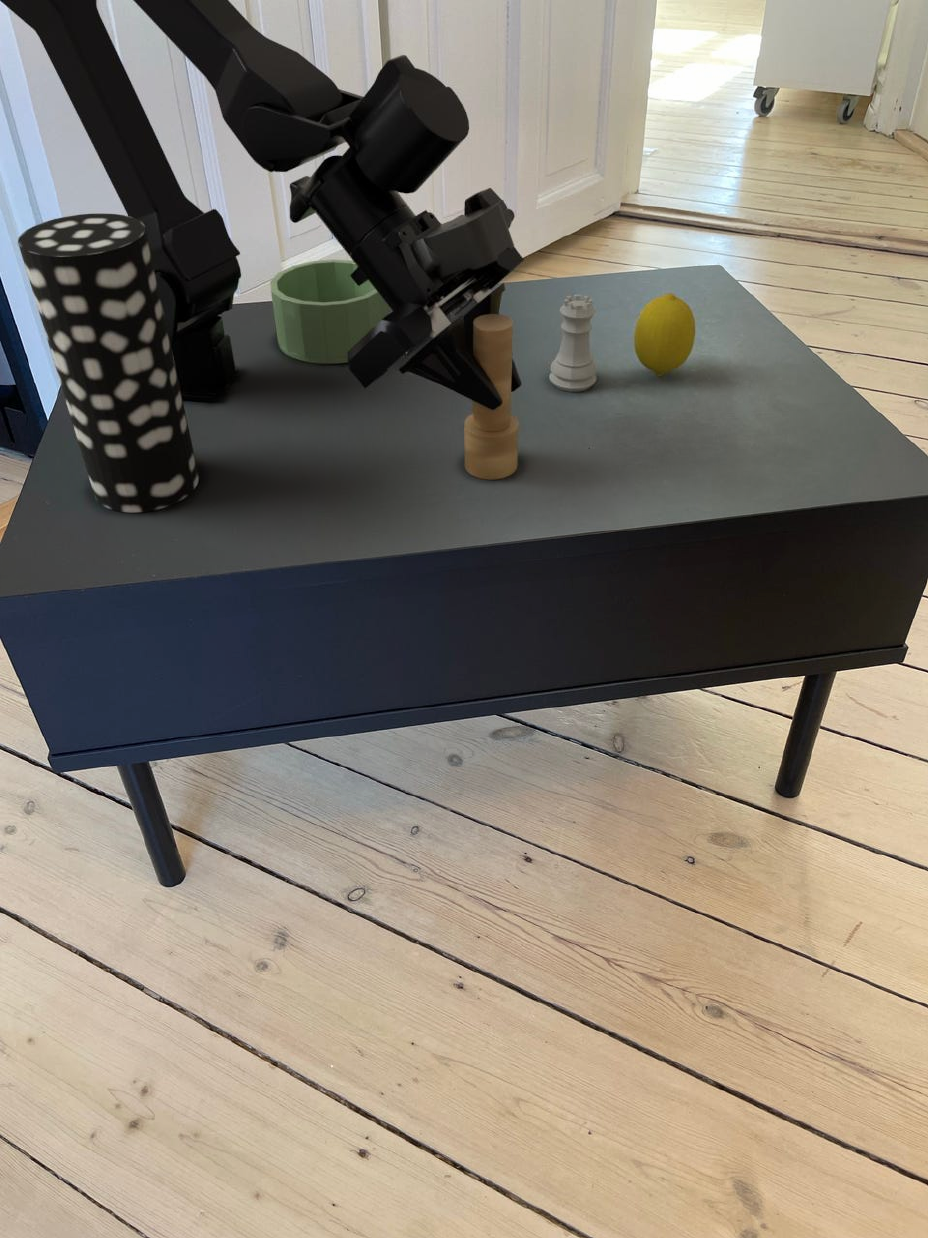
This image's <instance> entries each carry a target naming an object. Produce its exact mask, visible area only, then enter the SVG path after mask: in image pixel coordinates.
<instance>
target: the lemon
mask: <svg viewBox="0 0 928 1238" xmlns="http://www.w3.org/2000/svg"><path fill="white" fill-rule="evenodd" d="M634 328H635V329H634V334H633V335H634V336H633V344H634V345H633V346H634V350H635V354H636V356H637V359H638V360H639V362H640V363H641V364H642V366H644V367H645V368H646V369H648V370H650V371H652V372H653V373H654V374H655V375H656V376H658V377H661V376H664V375H665V374H666V373H668V372H669V373H670V372H672V371H674V370H677V369H678V368H680V367H681V366H682V365H683V364H684V363H685V362H686V361H687V359H688V358H689V357H690V355H691V353H692V350H693V347H694V343H695V338H696V322H695V316H694V313H693V311H692V309H691V307H690V305H689V304H687V302H686V301H684V300H683V299H682V298H681V297H678V296H676V295H675V294H674V293H672V292H666V293H665V294H664V295H661V296H658V297H656V298H653V299H652V300H651V301H649V302H648V303H647V304H646V305H645V306H644V307H643V309H642V310H641V312H640V314H639V316H638V318H637V321H636V324H635V327H634Z"/></svg>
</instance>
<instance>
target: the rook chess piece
mask: <svg viewBox="0 0 928 1238" xmlns="http://www.w3.org/2000/svg"><path fill="white" fill-rule="evenodd" d="M559 313H560V314H561V316H562V317H563V322H562V324H561V325H560V327H561V329H562V337H561V342H560V348H559V350H558V352H557V354H555V359H554V360H553V361H552V362H551V365H550V373H549V376H548V377H549V381H550V382H551V383H552V385H553V386H554V387H555V388H556V389H558V390H560V391H563V392H564V391H565V392H569V393H573V392H574V393H576V392H578V393H579V392H583V391H586V390H588V389H590V388H591V387H592V386H593V385H594V384H595V383H596V381H597V376H596V372H597V367H596V366H597V365H596V362H594V361H593V360H594V359H593V355H591V352H590V349H591V348H590V331H591V330H592V329H593V326H592V324H591V319H592V318H593V316H595V314H596V313H597V311H596V308H595V306H594V305H593V298H590V296H588V295H584V296H583V299H581V294H574V299H573V297H572V295H567V296H565V298H564V300H563V304H562V305H561V307H560V308H559Z"/></svg>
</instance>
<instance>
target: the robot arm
mask: <svg viewBox="0 0 928 1238" xmlns="http://www.w3.org/2000/svg"><path fill="white" fill-rule="evenodd" d="M132 1H133V2H134V3H135V4H136V6H138V8H140V9H141V10H142V11H143V12H144V13H145V15H146V16H147V17H148V18H149V19H150V20H151V21H152V22H153V23H154V24H155V25H156V26H157V27H158V29H160V31H161V32H162V33H163V34H164V35H165V36H166V37H167V38H168V39H169V40H170V41H171V42H172V43H173V45H175V47H176V48H177V49H178V50H179V51H180V53H182V55H184V56H185V57H186V58H187V60H188V61H189V62H190V63H191V64H192V65H193V66H194V67H195V68H196V69H197V71H199V72H200V73H201V75H203V76H204V78H205V79H206V81H207V82H208V83H209V84H210V86H211V87H212V89H213V90H214V92H215V95H216V98H217V99H216V100H217V102H218V105H219V106H218V107H219V110H220V113H221V116H222V119H223V121H224V122H225V124H226V125H227V126H228V128H229V130H230V131H231V132H232V134H233V135H234V136H235V137H236V139H237V141H238V142H239V143H240V144H241V145H242V147H243V149H244V150H245V151H246V153H247V154H248V155H249V157H250V158H251V159H252V160H253V162H254V163H255V164H256V165H258V166H259V167H260V168H262V169H263V170H265V171H267V172H270V173H274V172H276V173H288V172H290V171H291V170H294V169H296V168H299V167H301V166H303V165H304V164H306V163H308V162H311V161H314V160H317V159H318V158H320V157H322V156H324V155H326V154H329V153H331V152H333V151H335V150H336V149H337V148H338V146H340V145H343V144H345V143H346V144H347V145H348V148H347V149H346V151H344V153H343V154H342V155H339V154H337V155H330V156H329V157H326V158H325V159H324V160H323V161H322V162H321V163H320V165H318V167H317V168H316V170H315V171H314V172H313V173H312V175H311V176H309V175H304V176H303V177H300V178H298V179H296V180H294V181H292V182H290V183H289V190H290V204H289V220H290V222H292V223H294V224H296V223H299V222H301V221H303V220H305V219H307V218H308V217H311V216H313V215H314V214H316V215H317V217H318V218H319V219H320V220H321V222H322V223H323V224H324V225H325V227H326V228H327V229H328V231H329V232H330V233H331V234H332V236H333V237H334V238H335V240H336V241H337V242H338V244H339V245H340V246H341V247H342V248H343V250H344V251H345V252H346V254H347V255H348V256H349V258H350V259H351V261H354V262H355V264H356V265H357V266H358V267H357V268H356V270H355V271H354V272H353V273H352V274H351V275H350V276H351V278H352V279H353V280H354V281H355V283H356V284H357V285H358V286H360V285H361V284H363V283H365V282H366V281H368V280H369V281H370V283H371V284H372V285H373V287H374V288H375V289H376V290H377V292H378V293H379V294H380V295H381V297H382V298H383V299H384V301H385V302H386V303H387V304H388V306H389V309H390V310H391V312H390V314H388V315H387V316H386V317H384V318H383V319H381V320H380V321H379V322H378V323H377V324H376V325H375V326H374V327H373V328H372V329H371V330H370V331H369V332H368V333H367V334H366V335H365V336H364V337H363V338H362V339H361V340H360V341H359V342H358V343H357V344H356V345H354V346H353V347H352V348H351V349H350V350H349V351H348V352H347V354H348V362H347V364H348V365H347V366H348V370H349V372H350V373H351V374H352V375H353V376H354V377H355V378H356V380H358V383H360V385H361V386H362V387H363V388H364V390H366V389H368V387H370V386H371V385H372V384H374V383H375V382H376V381H377V380H379V379H380V378H381V377H382V376H384V375H386V373H387V372H388V371H389V368H391V367H393V365H394V364H396V363H397V362H398V360H400V358H402V357H403V356H404V357H405V358H406V359H407V361H406V362H405V363H404V364H403V365H402V366H401V367H400V368H398V372H399V373H400V374H402V375H405V374H406V373H411V374H414V375H415V376H418V377H420V378H424V379H425V380H428V381H431V382H433V383H435V384H437V385H440V386H442V387H445V388H447V389H448V390H451V391H453V392H455V393H456V394H458V395H461V396H463V397H464V398H467V399H469V400H471V401H472V402H473V401H475V402H477V403H479V404H481V405H483V406H485V407H487V408H489V409H491V410H495V409H496V408H498V407H499V406H500V405H501V404H502V403H503V401H502V399H501V397H500V395H499V393H498V392H497V390H496V388H495V386H494V385H493V383H492V382H491V380H490V379H489V377H488V376H487V374H486V373H485V371H484V370H483V368H482V367H481V365H480V364H479V362H478V361H477V359H476V358H475V356H474V355H473V321H474V320H475V319H476V318H477V317H479V316H482V315H486V314H499V315H500V310H501V309H500V308H501V302H502V297H503V293H504V292H505V291H506V285H505V282H502V283H501V284H500V285H499V286H497V285H498V284H499V283H500V282H501V281H503V279H505V278H506V277H507V276H508V275H509V274H511V273H512V272H513V271H514V270H515V269H516V268H518V267H519V265H521V264H522V263H523V262H524V261H525V259H524V258H523V256H522V255H521V253H520V252H519V251H518V249H517V248H516V246H515V243H514V240H513V237H512V235H511V232H510V228H511V225H512V223H513V222H514V220H515V212H514V211H513V210H512V209H511V208H509V207H508V206H507V204H506V203H505V201H504V199H502V198H501V197H500V196H499V195H498V194H497V193H496V191H494V190H493V188H491V187H488V188H486V189H483V190H480V191H478V192H476V193H474V194H472V195H471V196H469V197H468V198H466V199H465V200H464V207H463V209H464V211H463V214H461V215H458V216H457V217H455V218H453V219H452V220H449V221H446V222H444V223H441V221H439V219H438V218H437V217H436V215H435V214H434V213H433V212H430V211H428V210H427V209H425V210H423V211H421V212H420V213H418V214H417V215H416V214H415V213H414V211H413V210H412V209H411V208H410V206H409V205H408V203H407V202H406V201H405V199H404V198H403V197H402V195H401V194H408V195H409V194H413V193H416V192H417V191H418V190H419V189H420V188H421V187H422V186H423V185H424V184H425V182H426V181H427V180H428V179H429V178H430V177H431V176H432V175H433V174H434V173H435V172H436V171H437V169H438V168H439V167H441V165H442V164H443V163H444V162H445V161H446V160H447V159H448V158H449V157H450V155H451V154H453V152H454V151H456V149H457V148H458V147H459V146H460V145H461V143H462V142H463V141H464V140H465V139H466V138H467V137H468V135H469V132H470V120H469V117H468V114H467V112H466V109H465V107H464V104H463V103H462V101H461V100H460V98H459V96H458V95H457V94H456V92H455V91H454V89H452V88H451V87H450V86H446V85H445V84H444V83H443V82H442V81H441V80H440V79H439V78H437V77H436V76H434V75H433V74H431V73H429V72H428V71H426V70H424V69H420V68H418V67H415V66H414V64H413V63H412V62H411V60H410V59H409V57H408V56H407V55H405V54H401V55H398V56H396V57H393V58H389V59H388V60H387V61H386V62H385V64H384V65H382V67H381V69H380V70H379V72H378V73H377V76H376V77H375V80H374V83H373V84H372V85H371V87H370V88H369V89H368V91H367V92H366V93H365V95H364V96H363V95H359V94H356V93H353V92H350V91H347V90H343V89H340V88H338V86H337V85H336V83H335V82H334V80H332V79H331V78H330V77H329V76H328V75H326V73H325V72H323V71H322V70H320V68H318V67H317V66H315V65H314V64H313V63H311V62H310V61H309V60H308V59H307V58H306V57H304V56H303V55H302V54H301V53H299V52H298V51H296V50H294V49H291V48H290V47H288V46H285V45H283V44H281V43H279V42H278V41H277V42H276V41H274V40H272V39H270V38H268V37H267V36H265V35H264V34H262V32H260V31H259V30H257V29H256V28H255V27H254V26H253V25H252V24H251V23H250V22H249V21H248V20H247V19H246V18H245V17H244V16H243V14H242V13H240V11H239V10H238V9H237V8H236V7H235V5H233V4H232V2H231V1H230V0H132ZM0 2H1V3H2V4H3V5H4V6H5V7H7V8H8V9H9V10H10V11H11V12H12V13H14V14H15V16H17V17H18V18H20V19H21V20H22V21H23V22H24V23H25V24H27V25H28V26H29V27H30V28H31V29H32V30H33V31H34V32H35V33H36V35H37V36H38V39H39V40H40V42H41V44H42V46H43V48H44V50H45V53H46V54H47V56H48V58H49V60H50V62H51V65H52V66H53V68H54V70H55V72H56V74H57V76H58V78H59V80H60V82H61V84H62V86H63V88H64V90H65V92H66V94H67V96H68V97H69V100H70V103H71V104H72V107H73V108H74V110H75V113H76V114H77V117H78V118H79V121H80V122H81V124H82V126H83V128H84V130H85V132H86V134H87V136H88V138H89V140H90V142H91V144H92V146H93V148H94V150H95V152H96V154H97V156H98V158H99V160H100V163H101V164H102V166H103V168H104V170H105V172H106V174H107V176H108V179H109V180H110V183H111V184H112V186H113V188H114V191H115V192H116V195H117V197H118V198H119V200H120V202H121V205H122V207H123V208H124V210H125V212H126V214H127V215H126V216H129V217H133V218H135V219H138V220H139V221H141V222H142V223H143V224H144V225H145V228H146V232H147V237H148V242H149V246H150V251H151V255H152V260H153V265H154V269H155V274H156V279H157V283H158V288H159V293H160V297H161V302H162V307H163V311H164V316H165V321H166V325H167V330H168V335H169V339H170V344H171V349H172V353H173V358H174V363H175V367H176V372H177V377H178V381H179V386H180V391H181V395H182V400H191V401H200V402H201V401H202V402H214V401H217V400H218V398H219V397H220V396H221V395H222V394H223V392H224V391H225V390H226V389H227V387H228V386H229V385H230V383H231V382H232V381H233V380H234V379H235V377H236V376H237V375H239V372H240V368H239V366H237V365H236V363H235V359H234V352H233V346H232V341H231V336H230V334H228V333H225V327H224V322H223V317H222V316H220V315H222V314H223V313H225V312H229V311H230V310H232V309H233V306H234V305H233V303H234V298H235V297H234V296H235V293H236V292H237V290H238V288H239V284H240V283H239V282H240V279H241V277H242V272H241V271H242V270H241V266H240V263H239V260H238V258H237V257H238V256H240V255H241V251H240V250H239V249H238V248H237V246H236V245H235V244H234V242H233V240H232V238H231V237H230V235H229V233H228V230H227V227H226V223H225V220H224V218H223V216H222V215H221V214H220V212H219V210H217V209H216V208H212V209H210V210H208V211H205V212H204V211H203V210H202V209H200V208H199V207H198V205H197V206H196V204H195V203H193V202H192V201H191V200H189V198H187V196H186V195H185V194H184V191H183V190H182V187H181V186H180V184H179V182H178V179H177V177H176V175H175V173H174V170H173V169H172V166H171V164H170V161H169V160H168V158H167V156H166V154H165V151H164V150H163V148H162V145H161V143H160V141H159V139H158V137H157V135H156V132H155V130H154V127H152V124H151V121H150V119H149V118H148V114H147V113H146V111H145V108H144V107H143V105H142V102H141V101H140V98H139V96H138V93H137V91H136V90H135V88H134V85H133V83H132V81H131V79H130V77H129V74H128V72H127V70H126V68H125V66H124V64H123V62H122V60H121V57H120V56H119V54H118V51H117V49H116V47H115V44H114V43H113V40H112V38H111V35H110V34H109V32H108V29H107V28H106V26H105V23H104V21H103V18H102V17H101V15H100V14H101V13H100V12H99V9H98V0H0ZM496 286H497V287H496ZM495 287H496V288H495ZM493 288H495V289H493ZM492 289H493V290H492ZM425 307H427V308H426V309H425ZM521 386H522V380H521V377H520V374H519V371H518V370H517V367H516V364H515V361H514V358H513V357H512V380H511V393H513V392H515V391H517V390H518V389H519V388H520V387H521Z"/></svg>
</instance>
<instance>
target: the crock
mask: <svg viewBox="0 0 928 1238" xmlns="http://www.w3.org/2000/svg"><path fill="white" fill-rule="evenodd" d="M357 267H358V266H357V265H356V264H355V262H354V261H353V260H347V259H324V260H313V261H308V262H303V263H300V264H296V265H292V266H290V267H287V268H285V269H283V270H281V271H279V272H277V273H276V274H275V275H274V276H273V278H272V279H271V280H270V281H269V286H270V294H271V301H272V308H273V314H274V315H273V316H274V322H275V331H276V336H277V337H276V339H277V343H278V347H279V349H280V350H281V352H283V353H284V354H285V355H287V356H289V357H291V358H293V359H294V360H297V361H300V362H301V361H302V362H305V363H310V364H321V365H322V364H323V365H326V364H328V365H332V364H334V365H335V364H345V363H348V354H347V352H348V351H349V350H350V349H351V348H352V347H353V346H354V345H356V344H357V343H358V342H359V341H360V340H361V339H362V338H363V337H364V336H365V335H366V334H367V333H368V332H369V331H370V330H371V329H372V328H373V327H374V326H375V325H376V324H377V323H378V322H379V321H380V320H381V319H383V318H384V317H386V316H387V315H388V314H390V313H391V312H390V307H389V306H388V304H387V303H386V302H385V301H384V299H383V298H382V297H381V295H380V294H379V293H378V292H377V290H376V289H375V288H374V287H373V285H372V284H371V283H370V281H369V280H368V281H366V282H365V283H363V284H361V285H360V286H358V285H357V284H356V283H355V281H354V280H353V279H352V278H351V276H350V275H351V274H352V273H353V272H354V271H355V270H356V268H357Z"/></svg>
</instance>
